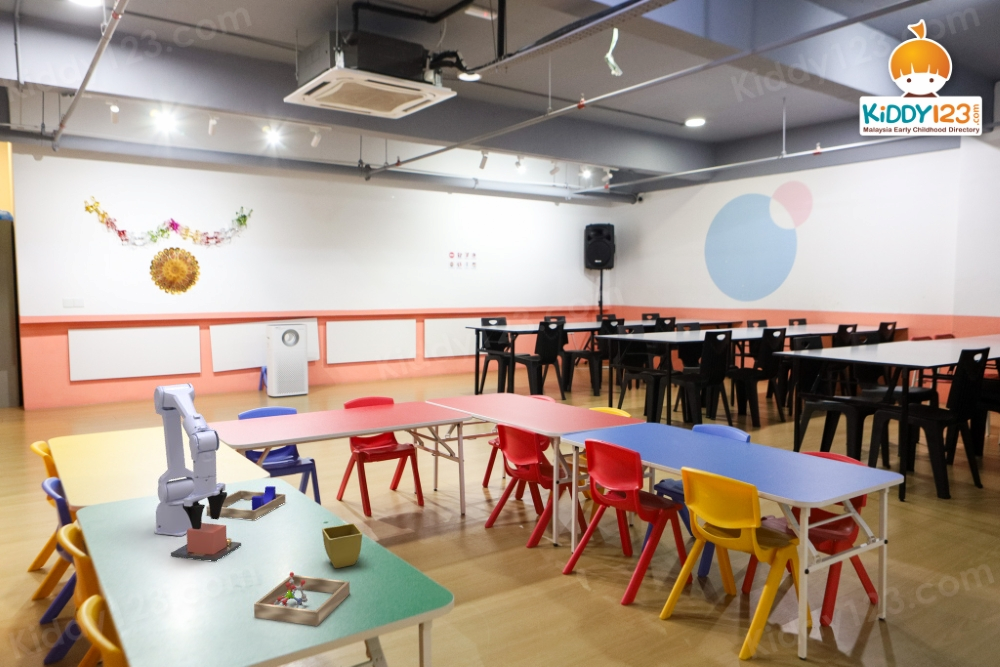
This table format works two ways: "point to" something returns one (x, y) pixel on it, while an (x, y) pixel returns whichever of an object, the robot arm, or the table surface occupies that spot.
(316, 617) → the wooden frame right
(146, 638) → the table surface
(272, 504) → the wooden frame left
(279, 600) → the molecular model
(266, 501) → the blue curved cradle block
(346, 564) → the flower pot
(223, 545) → the cap
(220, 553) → the panel
